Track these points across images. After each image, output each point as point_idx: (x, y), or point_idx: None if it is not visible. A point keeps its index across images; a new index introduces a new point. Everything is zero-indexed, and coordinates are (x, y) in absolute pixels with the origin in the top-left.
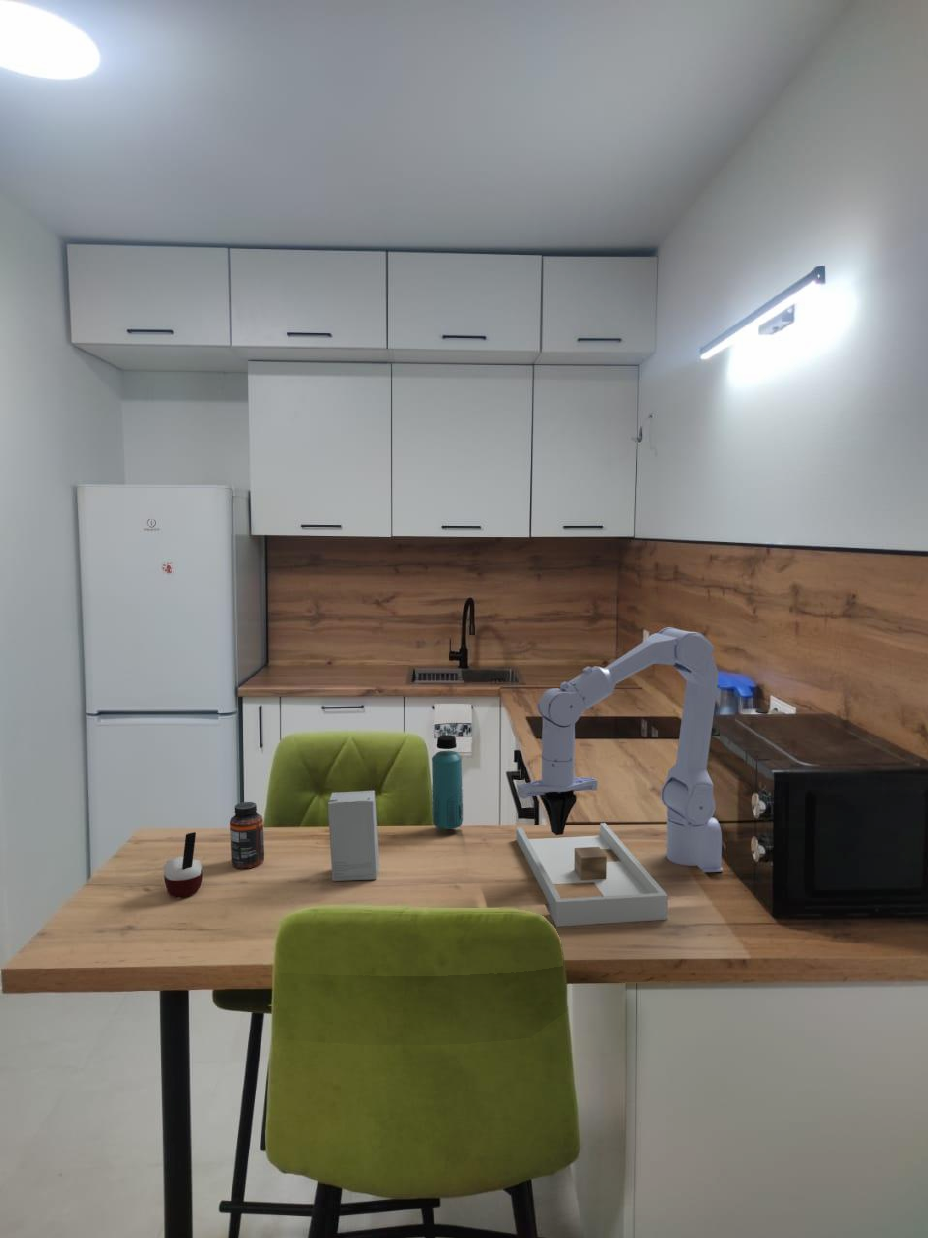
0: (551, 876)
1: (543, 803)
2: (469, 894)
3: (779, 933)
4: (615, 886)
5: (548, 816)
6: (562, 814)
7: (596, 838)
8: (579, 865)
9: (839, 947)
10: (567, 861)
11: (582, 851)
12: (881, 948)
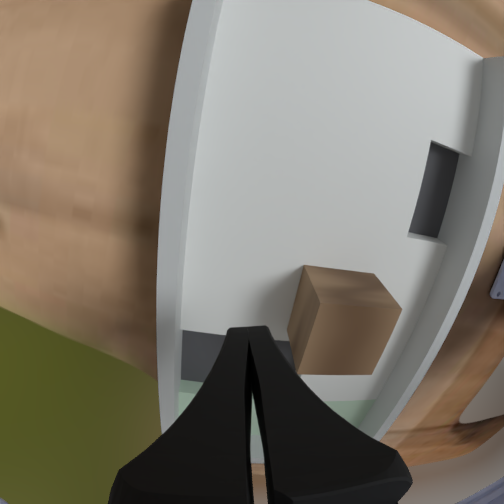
0: (213, 291)
1: (162, 438)
2: (20, 269)
3: (435, 440)
4: None
5: (208, 378)
6: (264, 463)
7: (470, 69)
8: (296, 335)
9: (447, 451)
10: (313, 197)
11: (329, 334)
12: (467, 447)
